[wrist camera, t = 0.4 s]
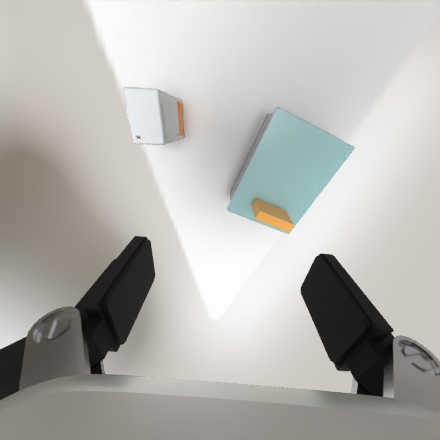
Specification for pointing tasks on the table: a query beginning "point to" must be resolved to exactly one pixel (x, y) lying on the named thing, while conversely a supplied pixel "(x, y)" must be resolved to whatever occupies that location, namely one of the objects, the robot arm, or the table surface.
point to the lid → (287, 171)
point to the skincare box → (153, 116)
